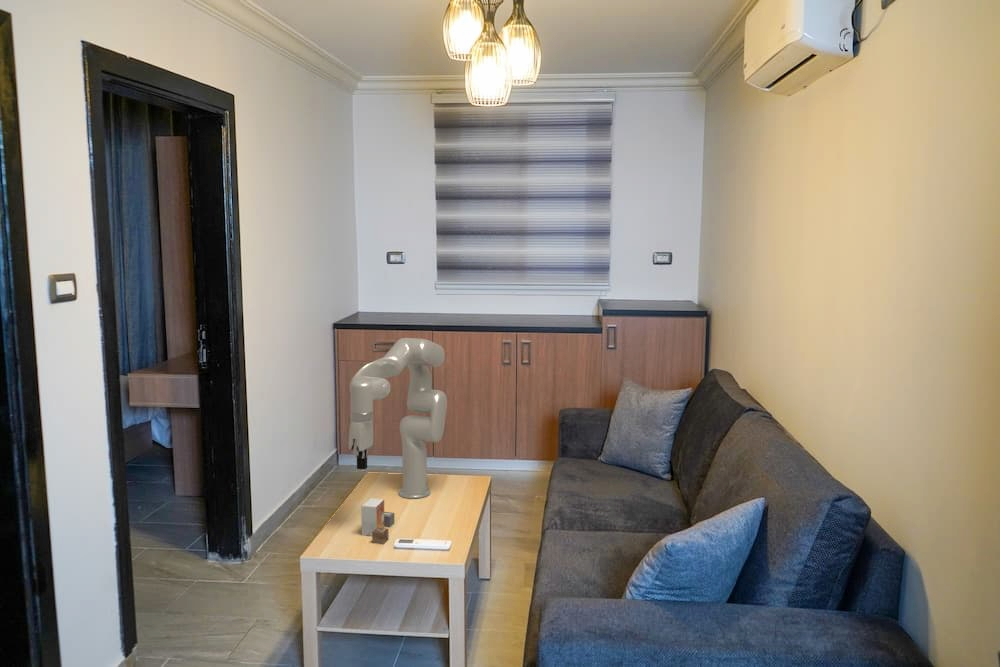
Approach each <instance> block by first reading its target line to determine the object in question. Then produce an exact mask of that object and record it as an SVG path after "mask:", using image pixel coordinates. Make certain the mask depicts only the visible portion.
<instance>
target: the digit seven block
mask: <svg viewBox="0 0 1000 667" xmlns="http://www.w3.org/2000/svg"><path fill="white" fill-rule="evenodd" d="M371 537H372V540H371V541H372V542H371V543H372V544H378V545H385V544H386V543H387V542H388V541H389V528H387V527H384V528H378V527H377V528H376V529H375V530H374V531H373V532H372V536H371Z"/></svg>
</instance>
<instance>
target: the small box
mask: <svg viewBox="0 0 1000 667" xmlns="http://www.w3.org/2000/svg"><path fill="white" fill-rule="evenodd" d="M360 508H361V510H360V511H361V513H360V516H361V517H360V518H361V535H362V536H371V537H372V532H373V531H374V530H375V529H376V528H377V527H378V528H385V527H384V512H385V499H382V498H372V497H371V498H368V499H367V501H365V502H364V503H363V504H362V505H361V506H360Z"/></svg>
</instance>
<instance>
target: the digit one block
mask: <svg viewBox="0 0 1000 667" xmlns="http://www.w3.org/2000/svg"><path fill="white" fill-rule="evenodd" d="M394 525H395V512H390V511H384V528H388V529H389V528H391V527H392V526H394Z"/></svg>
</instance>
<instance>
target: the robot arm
mask: <svg viewBox="0 0 1000 667" xmlns="http://www.w3.org/2000/svg"><path fill="white" fill-rule="evenodd" d="M445 358H446V353H445V349H444V348H443V346H441V345H440V344H438V343H436V342H433V341H431V340H428V339H425V338H415V337H402V338H400V339H398V340H396V342H395V343H394V344H393V345H392V346H391V347H390V349H389V350H388V351H387V353H386V354H385V355H384V356H383V357H382V358H378V359H376V360H373V361H372V362H369V363H367V364H365V365H364V366H362V367H360V369H358V371H357V372H356V373H355V374H354V375H353V377H352V379H351V380H350V383H349V391H350V425H349V431H348V451H352V455H353V456H355V458H356V469H357V470H366V469H368V456H369V450H371V447H372V446H373V445H374V426H373V424H374V423H373V422H374V401H375V400H383V399H385V398H387V396H389V394H390V391H391V388H392V387H391V383H390V382H389V380H387V379H388V378H391V377H395V376H398V375H400V374H401V373H402V371H403V370H404V369H405V368H406V367H407V368H408V370H409V376H410V377H409V378H410V379H409V384H408V385H409V386H408V395H407V400H406V401H407V402H406V404H407V408H408V410H409V411H411V412H414V413H419V414H420V413H422V414H428V415H429V414H430V416H423V415H415V414H413V415H412V414H410V415H406V416H404V417H403V418H402V419H401V420H400V422H399V433H400V439H401V446H402V447H401V448H402V457H401V458H402V487H401V488H400V489H398V495H399V496H400V497H402V498H405V499H421V498H422V499H423V498H426V497H428V496H430V495H431V492H432V491H431V489H430V488H429V487H428V486H427V485H428V484H427V483H428V482H429V478H428V477H427V474H428V473H427V467H428V466H427V465H428V464H427V463H428V462H427V461H428V460H427V459H428V458H427V455H428V454H427V448H426V445H425V443H424V442H426V443H427V442H429V443H438V442H440V441H441V440H442V438H443V436H444V432H445V425H446V424H445V423H446V417H447V409H448V398H447V395H446V393H445V392H444V391H442V390H440V389H432V379H433V378H432V377H433V376H432V373H431V371H430V369H429V368H428V367H434V368H435V367H440V366H441V365H442V364H443V363H444V362H445V360H446V359H445Z"/></svg>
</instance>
